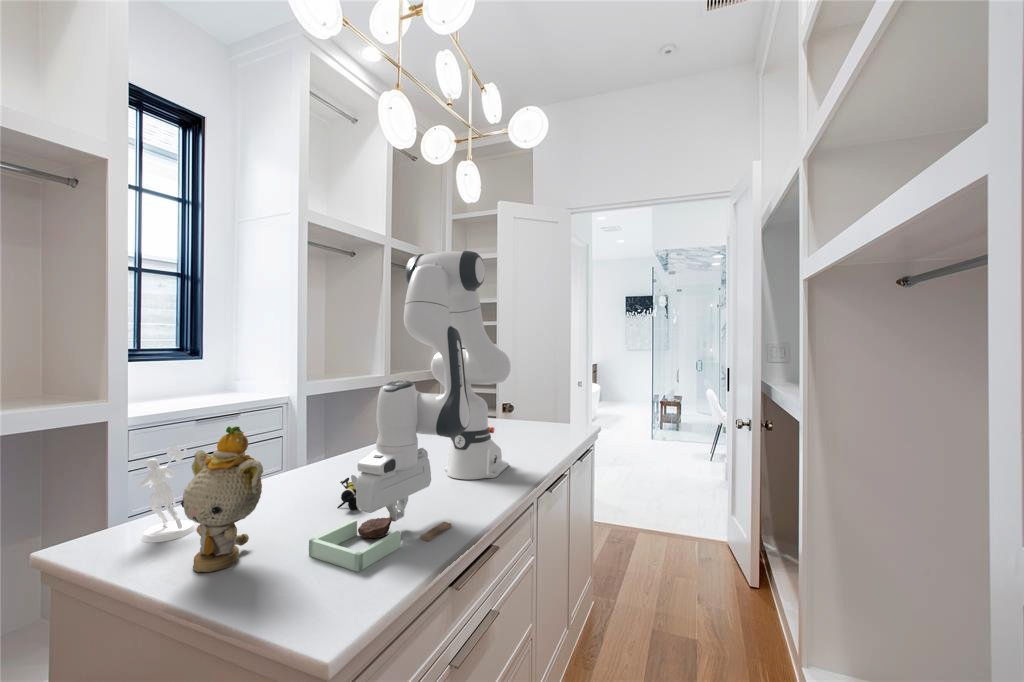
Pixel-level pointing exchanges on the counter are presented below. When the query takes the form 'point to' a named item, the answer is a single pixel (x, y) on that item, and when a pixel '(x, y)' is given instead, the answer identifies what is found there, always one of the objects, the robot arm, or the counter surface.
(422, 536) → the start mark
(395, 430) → the robot arm
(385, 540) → the green u-shaped bracket
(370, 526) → the stone
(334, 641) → the counter surface
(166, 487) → the figurine
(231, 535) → the figurine
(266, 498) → the counter surface
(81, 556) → the counter surface
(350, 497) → the toy
